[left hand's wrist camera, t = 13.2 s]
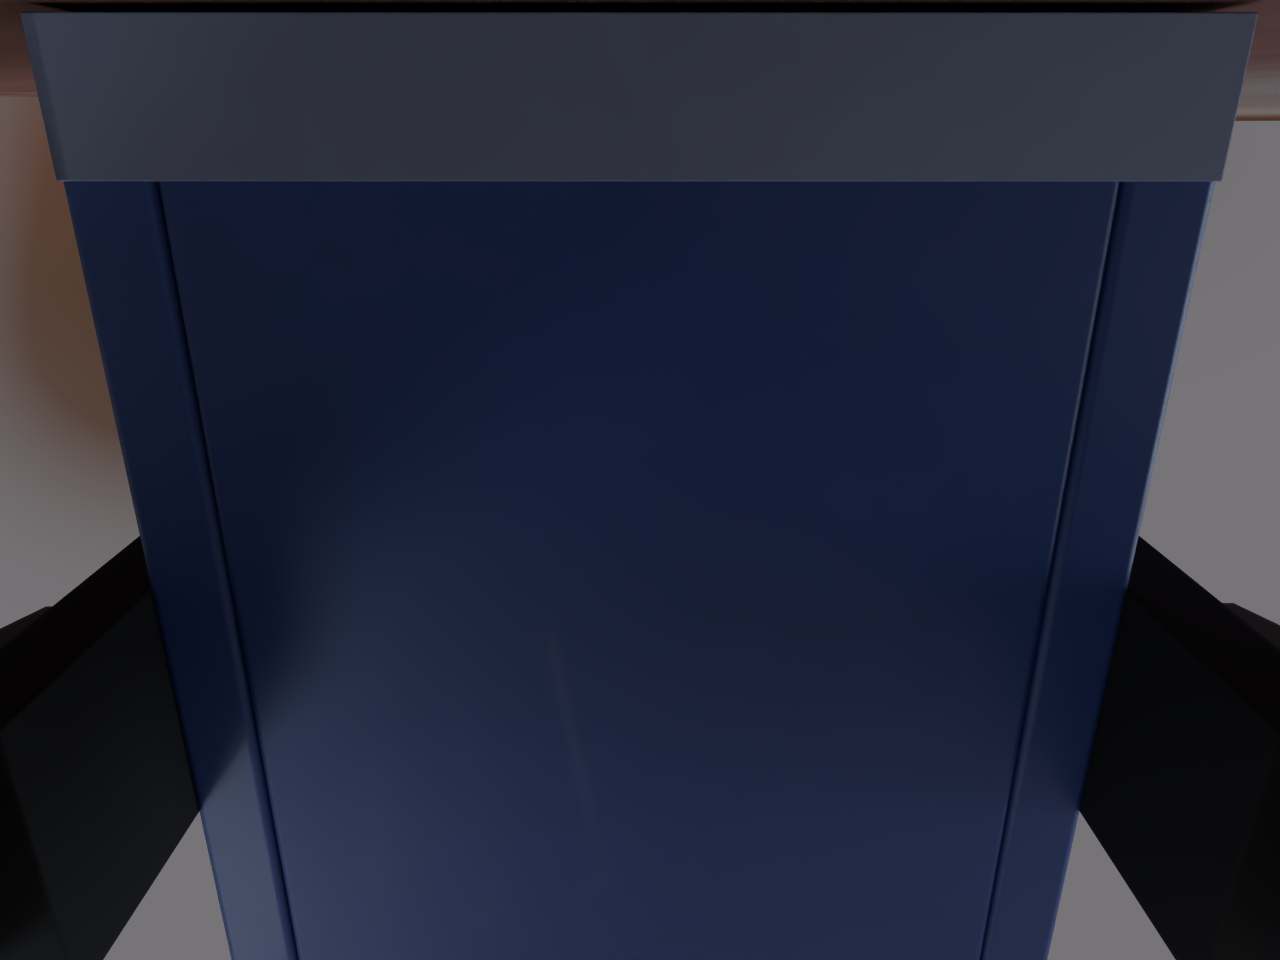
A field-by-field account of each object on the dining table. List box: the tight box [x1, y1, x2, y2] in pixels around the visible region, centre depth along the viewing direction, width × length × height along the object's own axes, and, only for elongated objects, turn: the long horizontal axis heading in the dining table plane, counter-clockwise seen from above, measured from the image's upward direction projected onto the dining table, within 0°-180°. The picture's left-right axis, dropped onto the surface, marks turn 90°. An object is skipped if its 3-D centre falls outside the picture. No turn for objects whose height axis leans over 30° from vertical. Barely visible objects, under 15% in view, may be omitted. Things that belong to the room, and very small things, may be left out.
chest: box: [20, 12, 1258, 960], centre depth 16 cm, size 15×10×10 cm, turn 0°
